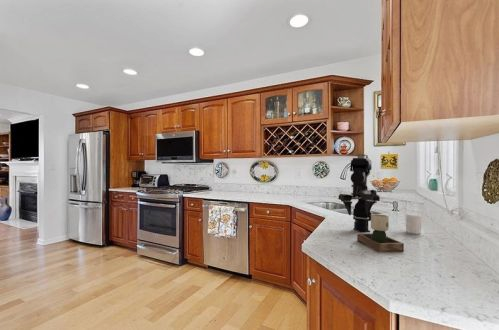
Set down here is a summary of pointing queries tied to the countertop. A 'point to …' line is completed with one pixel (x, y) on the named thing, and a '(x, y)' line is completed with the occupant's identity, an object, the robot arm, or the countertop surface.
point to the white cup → (413, 223)
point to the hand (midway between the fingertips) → (358, 215)
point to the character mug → (379, 227)
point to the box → (381, 244)
